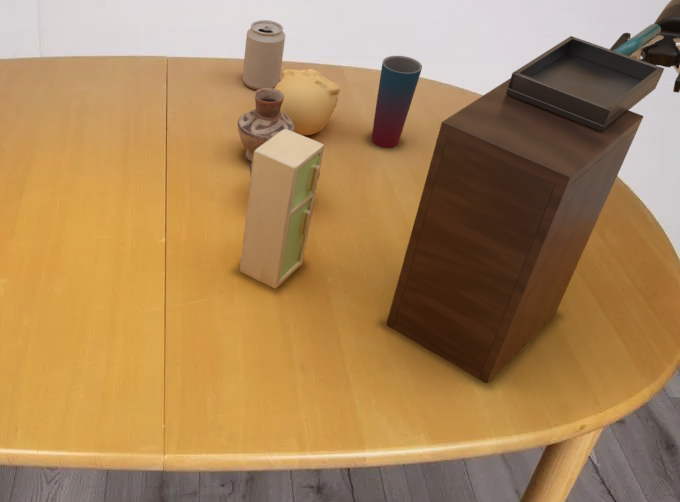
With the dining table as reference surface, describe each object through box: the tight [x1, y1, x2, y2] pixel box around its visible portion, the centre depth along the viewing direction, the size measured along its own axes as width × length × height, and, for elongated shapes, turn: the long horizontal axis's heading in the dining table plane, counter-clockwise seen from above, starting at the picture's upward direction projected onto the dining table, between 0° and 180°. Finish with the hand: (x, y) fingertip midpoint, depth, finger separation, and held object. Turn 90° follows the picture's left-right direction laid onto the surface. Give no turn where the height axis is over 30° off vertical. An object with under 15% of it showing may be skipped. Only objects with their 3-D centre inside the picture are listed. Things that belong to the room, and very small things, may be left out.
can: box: [241, 19, 286, 91], centre depth 172 cm, size 8×8×12 cm
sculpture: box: [274, 68, 341, 136], centre depth 160 cm, size 12×12×11 cm
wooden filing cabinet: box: [385, 77, 644, 384], centre depth 114 cm, size 20×16×32 cm
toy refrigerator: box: [239, 129, 325, 289], centre depth 125 cm, size 8×7×21 cm
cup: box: [370, 55, 423, 149], centre depth 156 cm, size 7×7×15 cm
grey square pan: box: [506, 23, 665, 132], centre depth 112 cm, size 30×12×3 cm, turn 136°
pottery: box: [237, 87, 321, 180], centre depth 146 cm, size 11×25×12 cm, turn 9°
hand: (645, 82), depth 128 cm, fingers open, 8 cm apart
